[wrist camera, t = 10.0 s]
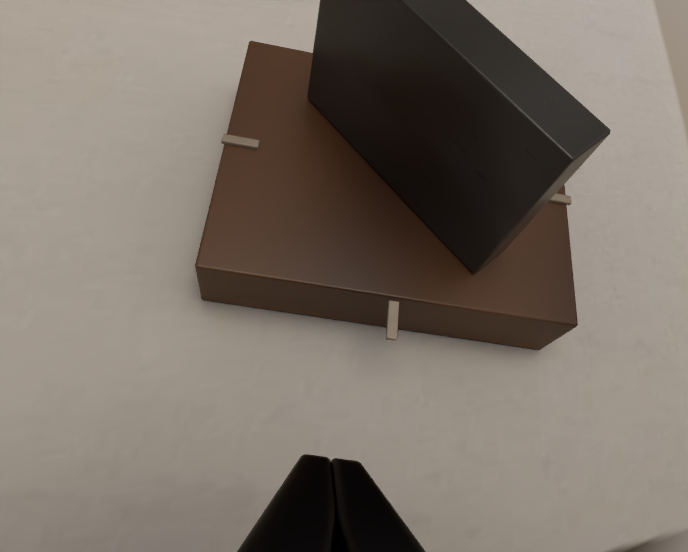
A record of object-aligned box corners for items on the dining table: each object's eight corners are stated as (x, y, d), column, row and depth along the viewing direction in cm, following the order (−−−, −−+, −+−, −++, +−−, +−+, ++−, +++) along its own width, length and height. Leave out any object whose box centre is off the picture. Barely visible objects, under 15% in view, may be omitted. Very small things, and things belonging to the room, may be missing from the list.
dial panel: (527, 118, 28) (558, 72, 26) (544, 388, 22) (588, 367, 19) (252, 65, 27) (253, 10, 24) (189, 338, 21) (180, 307, 18)
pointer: (504, 250, 21) (618, 124, 15) (473, 275, 20) (578, 154, 14) (339, 80, 23) (374, -94, 17) (305, 97, 23) (329, -77, 16)
